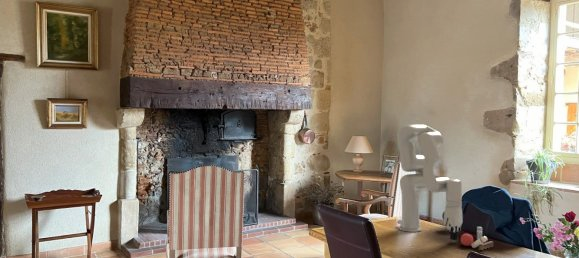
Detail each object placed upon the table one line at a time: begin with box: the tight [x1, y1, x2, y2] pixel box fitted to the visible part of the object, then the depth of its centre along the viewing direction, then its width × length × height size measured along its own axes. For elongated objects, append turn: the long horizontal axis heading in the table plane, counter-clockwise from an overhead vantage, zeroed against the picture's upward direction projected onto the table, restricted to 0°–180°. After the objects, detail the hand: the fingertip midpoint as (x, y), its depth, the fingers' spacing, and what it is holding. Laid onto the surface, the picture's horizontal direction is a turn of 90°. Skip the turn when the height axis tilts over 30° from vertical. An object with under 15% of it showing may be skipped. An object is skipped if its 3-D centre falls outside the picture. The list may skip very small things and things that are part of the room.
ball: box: [460, 233, 475, 247], centre depth 222 cm, size 6×6×6 cm
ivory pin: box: [470, 235, 489, 249], centre depth 215 cm, size 2×2×8 cm
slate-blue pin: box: [476, 226, 483, 241], centre depth 224 cm, size 2×2×8 cm
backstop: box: [478, 240, 494, 251], centre depth 217 cm, size 1×11×2 cm, turn 127°
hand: (453, 239), depth 228 cm, fingers closed
